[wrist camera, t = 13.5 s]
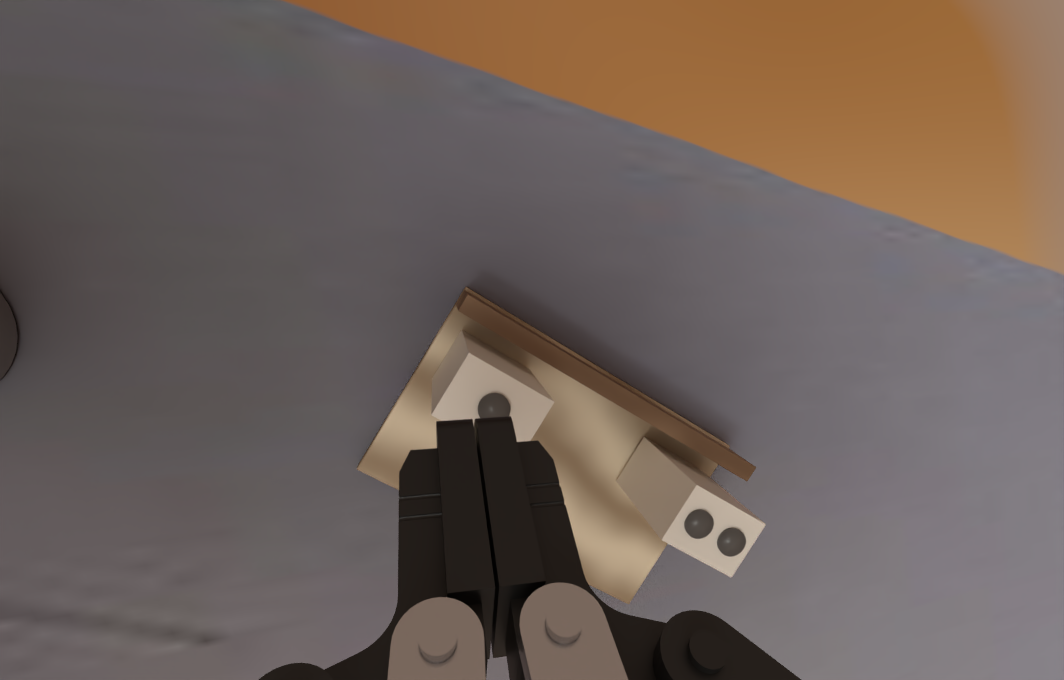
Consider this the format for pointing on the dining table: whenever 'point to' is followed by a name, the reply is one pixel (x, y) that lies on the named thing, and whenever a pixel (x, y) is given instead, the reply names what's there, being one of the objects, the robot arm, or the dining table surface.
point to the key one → (488, 388)
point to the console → (563, 439)
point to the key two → (689, 508)
